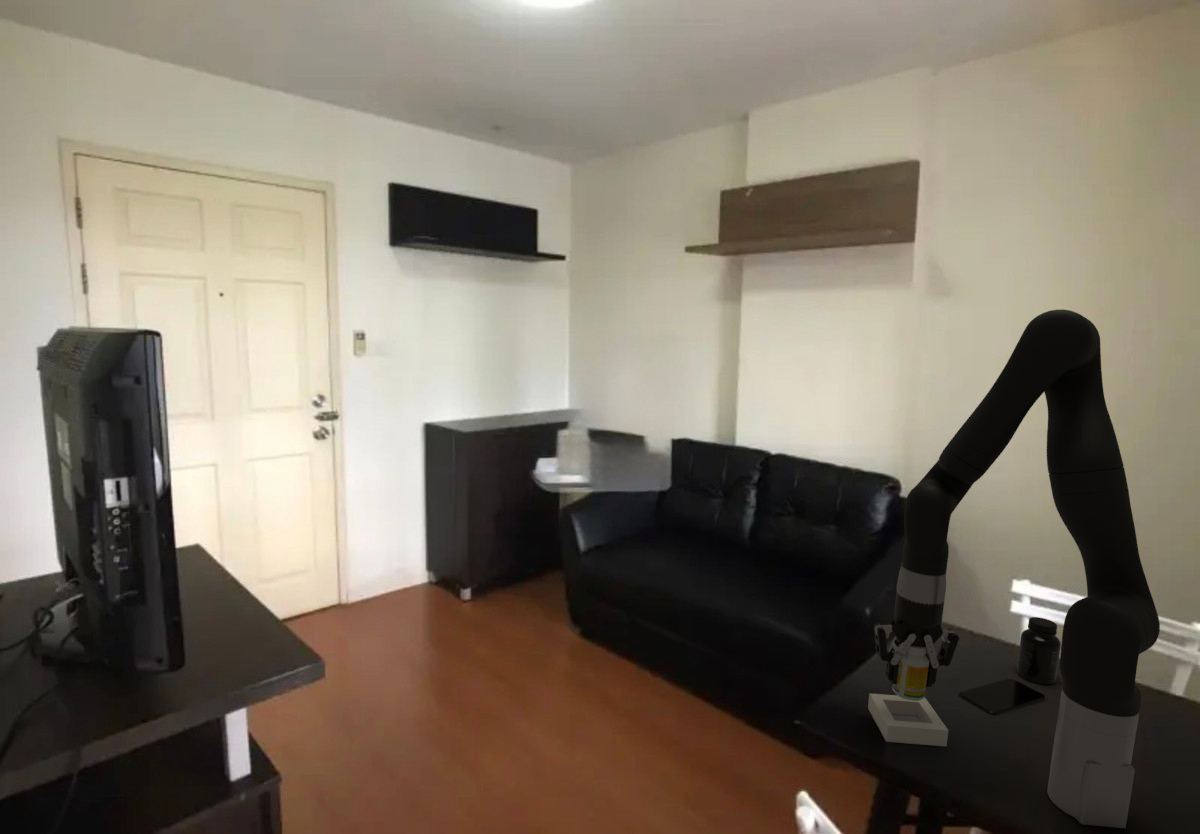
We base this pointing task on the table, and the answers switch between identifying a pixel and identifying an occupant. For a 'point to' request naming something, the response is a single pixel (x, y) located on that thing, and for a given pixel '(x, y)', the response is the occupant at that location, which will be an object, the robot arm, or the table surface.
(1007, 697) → the smartphone
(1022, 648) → the supplement bottle
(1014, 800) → the table surface
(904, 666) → the supplement bottle
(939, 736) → the socket plate
